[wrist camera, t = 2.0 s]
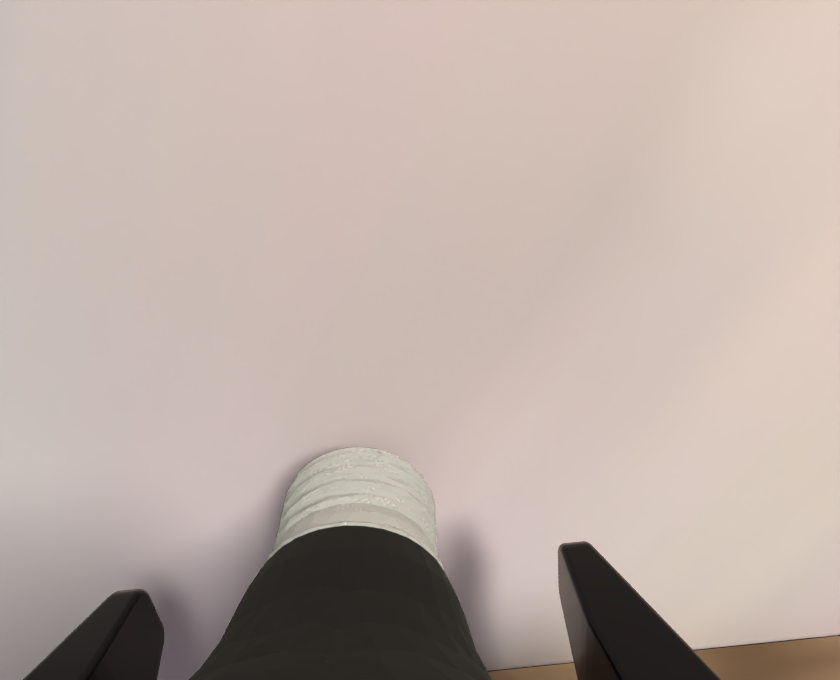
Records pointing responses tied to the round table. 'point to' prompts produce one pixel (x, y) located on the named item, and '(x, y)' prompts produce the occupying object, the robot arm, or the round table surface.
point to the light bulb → (351, 584)
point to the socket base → (733, 662)
